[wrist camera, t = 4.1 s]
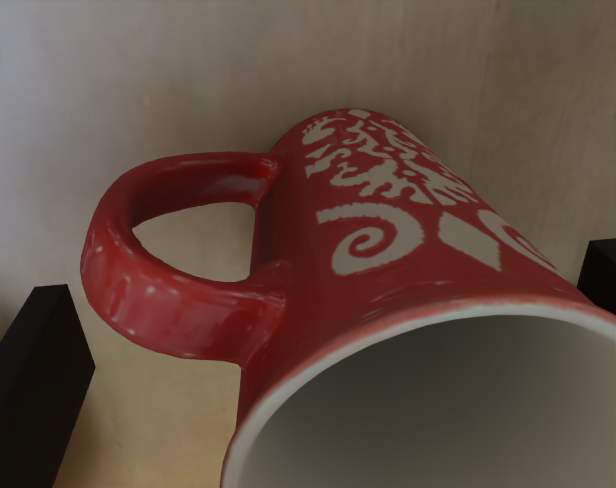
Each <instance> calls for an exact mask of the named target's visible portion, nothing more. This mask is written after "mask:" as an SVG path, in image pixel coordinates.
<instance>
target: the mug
mask: <svg viewBox="0 0 616 488" xmlns="http://www.w3.org/2000/svg"><path fill="white" fill-rule="evenodd" d="M222 202H239V203H245V204H248V205H250V206H252V207H253V208H254V210H255V224H254V235H253V244H252V255H251V265H250V275H249V277H248V278H247V279H245V280H241V281H238V282H220V281H212V280H208V279H204V278H200V277H196V276H193V275H190V274H188V273H185V272H182V271H180V270H177V269H175V268H173V267H171V266H170V265H168V264H166V263H165V262H163V261H162V260H160V259H158V258H156V257H154V256H153V255H151V254H150V253H149V252H148V251H147V250H146V249H145V248H144V247H143V246H142V245H141V242H140V241H139V240H138V239H137V238H136V236H135V235H134V233H133V232H132V228H134V227H136V226H137V225H139V224H140V223H142V222H144V221H147V220H149V219H152V218H155V217H157V216H160V215H163V214H166V213H171V212H175V211H179V210H183V209H186V208H191V207H196V206H203V205H207V204H213V203H222ZM80 273H81V279H82V285H83V288H84V291H85V294H86V297H87V300H88V302H89V304H90V305H91V307H92V308H93V309H94V310H95V311H96V313H97V314H98V315H99V316H100V317H101V318H102V319H103V320H104V321H105V322H106V323H107V324H108V325H109V326H110V327H112V328H113V329H114V330H115V331H116V332H118V333H119V334H121V335H122V336H124V337H125V338H127V339H128V340H130V341H131V342H133V343H135V344H137V345H139V346H141V347H144V348H146V349H149V350H152V351H155V352H158V353H163V354H167V355H171V356H174V357H177V358H184V359H197V360H217V361H226V362H230V363H234V364H238V365H239V366H240V367H241V380H240V392H239V402H238V411H237V421H236V430H235V432H234V434H233V436H232V439H231V441H230V443H229V445H228V448H227V451H226V454H225V457H224V460H223V465H222V471H221V479H220V488H616V315H615V314H613V313H611V312H609V311H606V310H604V309H602V308H600V307H598V306H596V305H595V304H594V303H592V302H591V301H590V300H589V299H588V298H587V297H586V296H585V295H584V294H583V293H582V292H581V291H579V290H578V289H577V288H576V287H575V286H574V285H573V284H572V283H571V282H570V281H569V280H568V279H567V278H566V277H565V276H564V275H563V274H562V273H561V272H560V271H559V270H558V269H556V268H555V267H554V266H553V265H552V264H551V263H550V262H549V261H548V260H547V259H546V258H545V257H544V256H543V255H542V254H541V253H540V252H539V251H538V250H537V249H536V248H535V247H534V246H533V245H531V244H530V243H529V242H528V241H527V240H526V239H525V238H524V237H523V236H522V235H521V234H519V233H518V232H517V231H516V230H515V229H514V228H512V227H511V226H510V225H509V224H508V223H507V222H506V221H505V220H504V219H503V218H502V217H501V216H499V215H498V214H497V213H496V212H495V211H494V210H493V209H492V208H491V207H490V206H489V205H487V204H486V203H485V202H484V201H483V200H482V199H481V198H480V197H479V196H478V195H477V194H476V193H475V192H474V191H473V190H472V188H471V187H470V186H469V185H468V184H467V183H466V182H464V181H463V180H462V179H460V178H459V177H458V176H457V175H456V174H454V173H453V172H452V171H451V170H450V169H449V168H448V167H447V166H446V165H445V164H444V163H443V162H442V161H441V160H440V159H439V158H438V157H437V156H436V155H435V154H434V153H432V152H431V151H430V150H429V148H428V147H427V146H426V145H425V144H424V143H423V142H422V141H421V140H420V139H419V138H418V137H417V136H416V135H415V134H414V133H412V132H411V131H410V130H409V129H408V128H406V127H405V126H404V125H402V124H400V123H399V122H398V121H396V120H394V119H392V118H390V117H388V116H385V115H383V114H380V113H376V112H372V111H367V110H361V109H341V110H336V111H328V112H325V113H322V114H319V115H317V116H314V117H312V118H309V119H307V120H305V121H303V122H301V123H299V124H298V125H296V126H295V127H294V128H292V129H291V130H290V131H289V132H287V133H286V134H285V135H284V136H283V137H282V138H281V139H280V140H279V141H278V143H277V144H276V145H275V146H274V147H273V149H272V150H271V152H270V153H269V154H268V153H250V152H208V153H195V154H185V155H178V156H171V157H165V158H160V159H156V160H153V161H149V162H147V163H144V164H142V165H140V166H137V167H135V168H133V169H131V170H129V171H128V172H126V173H124V174H123V175H122V176H120V177H119V178H118V179H117V180H116V181H115V182H114V183H113V184H112V185H111V186H110V187H109V188H108V190H107V191H106V193H105V194H104V195H103V197H102V198H101V200H100V202H99V204H98V206H97V208H96V210H95V212H94V215H93V218H92V220H91V223H90V226H89V229H88V232H87V236H86V240H85V244H84V247H83V251H82V255H81V262H80Z"/></svg>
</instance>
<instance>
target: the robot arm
mask: <svg viewBox="0 0 616 488" xmlns="http://www.w3.org/2000/svg"><path fill="white" fill-rule="evenodd" d="M576 288H577V289H578V290H579V291H581V292H582V293H583V294H584V295H585V296H586V297H587V298H588V299H589V300H590V301H591V302H592V303H594V304H595V305H596V306H598V307H600V308H602V309H604V310H606V311H609V312H611V313H613V314H615V315H616V238H615V239H603V240H591V241H589V244H588V248H587V251H586V255H585V259H584V262H583V266H582V269H581V273H580V276H579V280H578V284H577V287H576ZM95 368H96V367H95V364H94V361H93V358H92V355H91V352H90V349H89V346H88V343H87V341H86V338H85V335H84V332H83V329H82V326H81V323H80V320H79V317H78V314H77V311H76V309H75V306H74V303H73V300H72V297H71V294H70V291H69V288H68V285H67V284H63V285H51V286H39V287H34V289H33V290H32V292H31V294H30V295H29V297H28V299H27V300H26V302H25V303H24V305H23V307H22V308H21V310H20V312H19V313H18V315H17V316H16V318H15V320H14V321H13V323H12V324H11V326H10V328H9V329H8V331H7V333H6V334H5V336H4V337H3V339H2V341H1V342H0V488H52V487H53V484H54V481H55V478H56V476H57V473H58V470H59V467H60V465H61V462H62V459H63V456H64V454H65V451H66V448H67V445H68V443H69V440H70V437H71V434H72V432H73V429H74V426H75V423H76V420H77V418H78V415H79V412H80V409H81V407H82V404H83V401H84V398H85V396H86V393H87V390H88V387H89V385H90V382H91V379H92V376H93V374H94V371H95Z"/></svg>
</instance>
